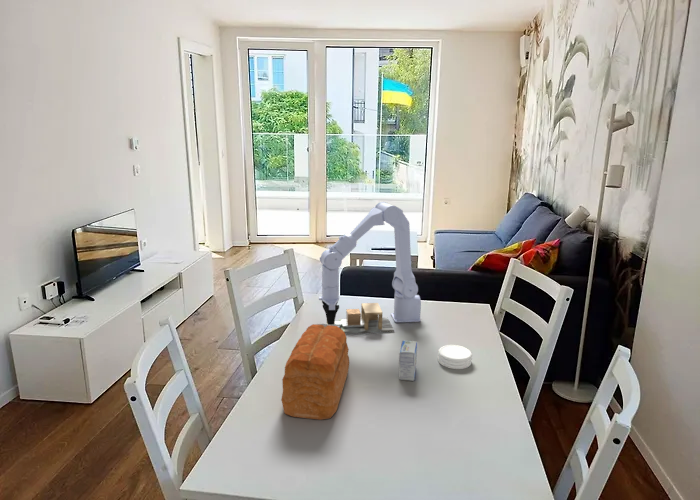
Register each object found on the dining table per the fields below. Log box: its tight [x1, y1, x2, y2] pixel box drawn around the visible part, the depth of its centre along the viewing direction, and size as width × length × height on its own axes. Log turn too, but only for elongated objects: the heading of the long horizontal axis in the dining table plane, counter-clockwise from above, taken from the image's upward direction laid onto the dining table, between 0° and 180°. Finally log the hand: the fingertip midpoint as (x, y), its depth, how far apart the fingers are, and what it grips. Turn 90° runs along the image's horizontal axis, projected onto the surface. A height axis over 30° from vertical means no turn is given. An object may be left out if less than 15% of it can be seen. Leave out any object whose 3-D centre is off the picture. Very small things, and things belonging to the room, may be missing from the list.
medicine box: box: [398, 339, 418, 382], centre depth 138 cm, size 8×4×9 cm, turn 168°
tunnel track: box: [338, 302, 395, 335], centre depth 170 cm, size 18×11×7 cm, turn 97°
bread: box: [280, 323, 350, 421], centre depth 128 cm, size 14×27×15 cm, turn 172°
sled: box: [326, 308, 365, 327], centre depth 169 cm, size 13×6×5 cm, turn 97°
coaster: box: [437, 344, 473, 370], centre depth 146 cm, size 10×10×4 cm
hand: (330, 321), depth 169 cm, fingers closed on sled, 3 cm apart
